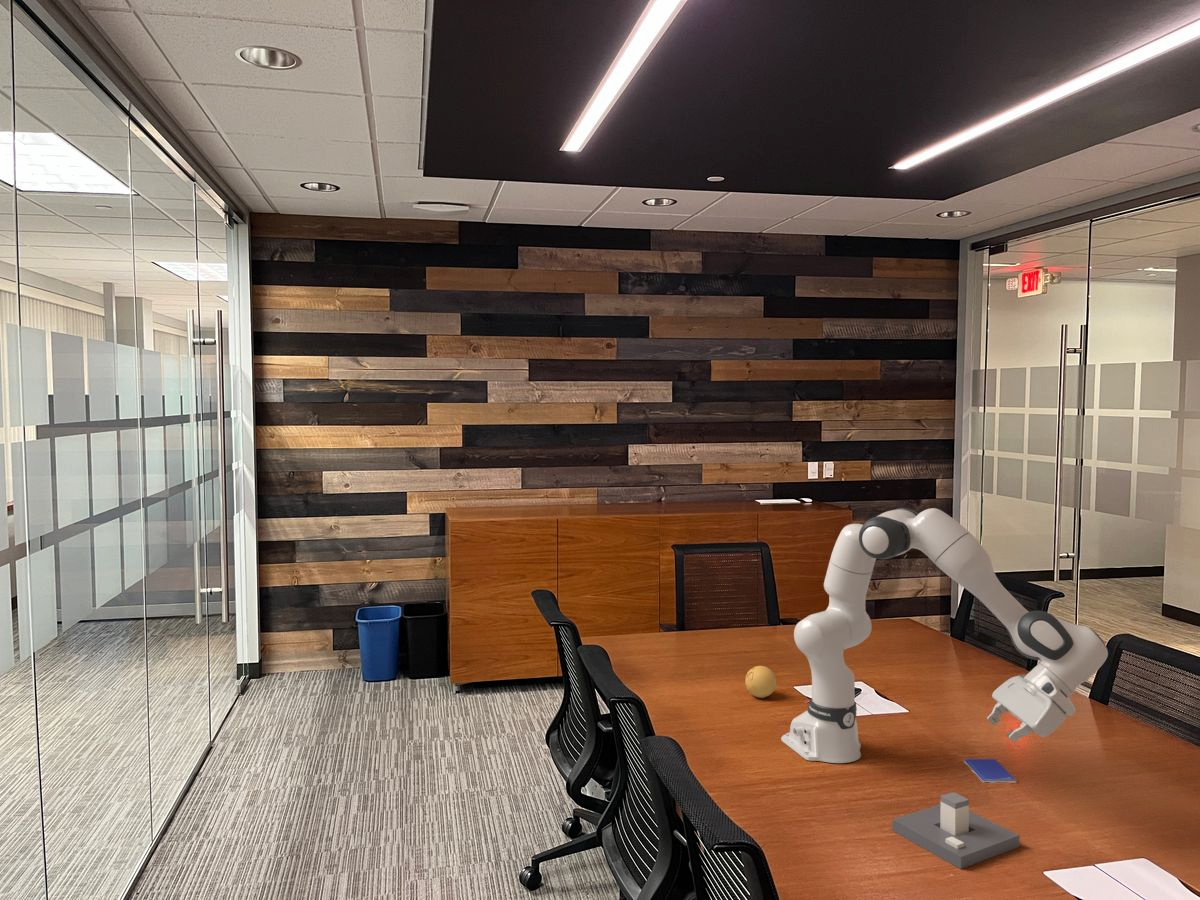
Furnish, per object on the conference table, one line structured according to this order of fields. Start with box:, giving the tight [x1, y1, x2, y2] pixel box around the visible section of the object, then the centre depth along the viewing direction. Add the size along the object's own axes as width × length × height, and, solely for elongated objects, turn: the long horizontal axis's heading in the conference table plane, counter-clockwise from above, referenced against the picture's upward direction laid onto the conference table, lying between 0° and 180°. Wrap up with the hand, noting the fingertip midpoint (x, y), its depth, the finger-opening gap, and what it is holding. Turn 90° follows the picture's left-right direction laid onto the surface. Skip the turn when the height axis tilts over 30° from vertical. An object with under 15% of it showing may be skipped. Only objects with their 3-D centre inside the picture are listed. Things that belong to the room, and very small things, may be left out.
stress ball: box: [744, 665, 777, 699], centre depth 275 cm, size 10×10×10 cm
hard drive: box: [964, 758, 1018, 784], centre depth 217 cm, size 2×8×12 cm
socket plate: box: [892, 803, 1021, 870], centre depth 184 cm, size 18×18×3 cm
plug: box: [940, 792, 970, 837], centre depth 184 cm, size 4×4×9 cm
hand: (999, 730), depth 190 cm, fingers open, 8 cm apart
